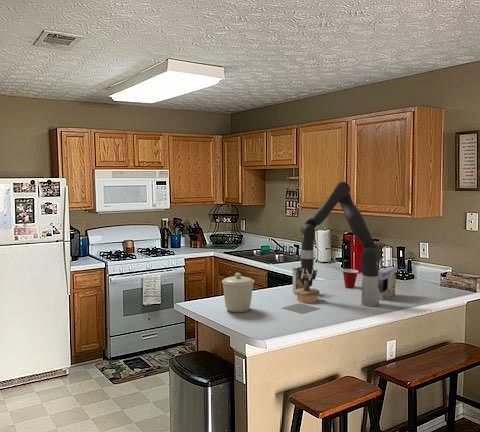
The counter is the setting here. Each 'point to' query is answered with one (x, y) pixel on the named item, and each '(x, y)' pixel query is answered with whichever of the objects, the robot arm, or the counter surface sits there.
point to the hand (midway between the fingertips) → (306, 285)
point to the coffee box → (297, 280)
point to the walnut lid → (306, 290)
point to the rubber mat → (301, 308)
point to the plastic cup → (350, 277)
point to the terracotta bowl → (307, 298)
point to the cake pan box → (386, 282)
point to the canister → (237, 293)
